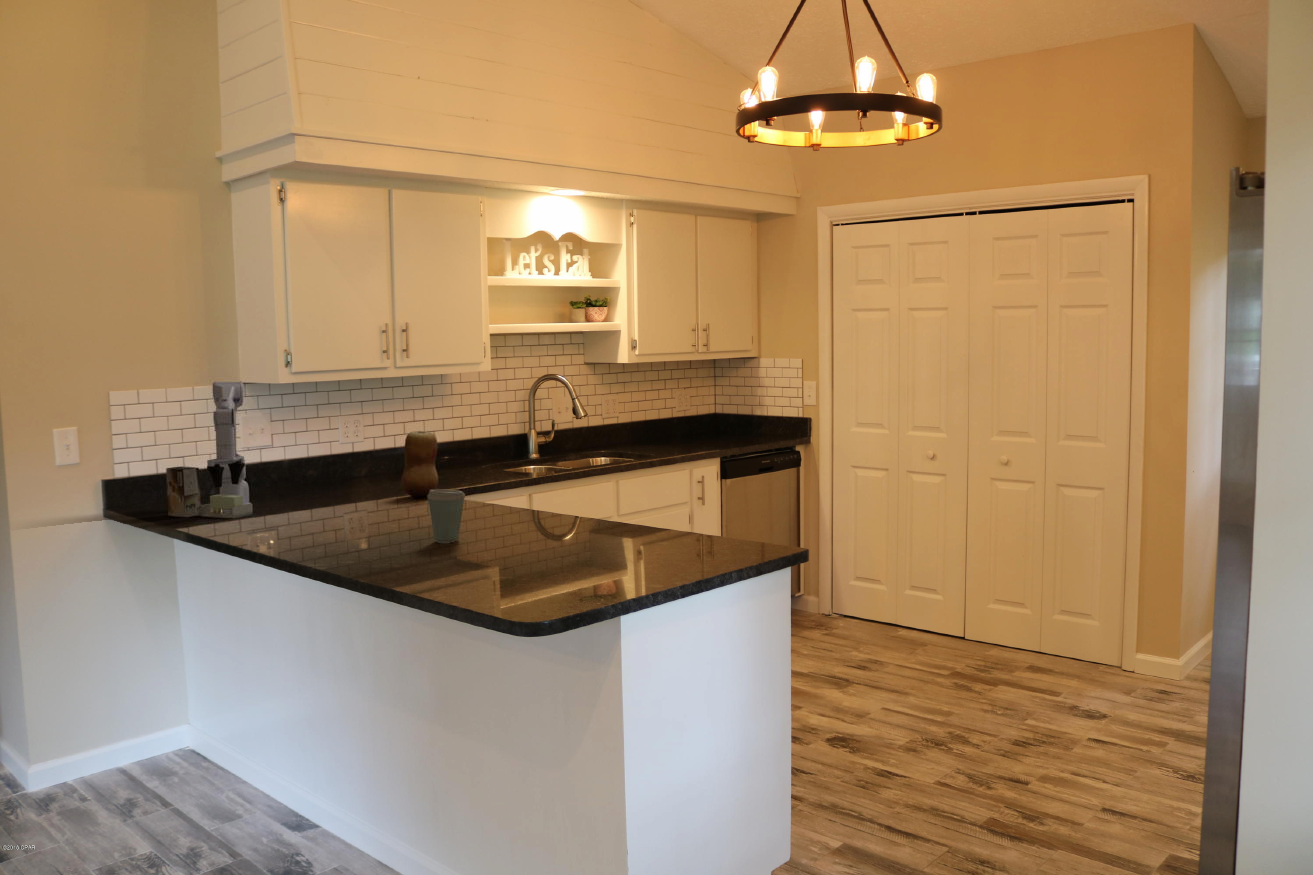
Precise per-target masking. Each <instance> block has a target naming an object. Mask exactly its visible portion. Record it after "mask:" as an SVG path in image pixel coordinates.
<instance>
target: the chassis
mask: <svg viewBox="0 0 1313 875" xmlns="http://www.w3.org/2000/svg"><path fill="white" fill-rule="evenodd" d="M251 515H253V503H251V504H246V505H241V506H236V507H231V508H230V509H219V508H210V503H206V504H201V505H200V506H199V515H198V517H206V518H208V517H209V518H222V519H237V518H241V517H247V516H251Z"/></svg>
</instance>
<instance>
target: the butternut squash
mask: <svg viewBox="0 0 1313 875" xmlns="http://www.w3.org/2000/svg"><path fill="white" fill-rule="evenodd" d="M403 450H404V451H403V452H404V453H403V454H404V470H403V472H402V475H401V479H400V483H401V487H402V488H403V490H404V492H405V493H407V494H408V495H409V496H410V497H411V498H412V497H413V498H412V499H417V498H418V499H419V498H426V497H428V494H429V491H430V490H436V489H437V487H438V484H439V475H438V472H437V469H436V459H437V454H438V453H437V452H438V440H437V436H436V434H435V433H433V432H430V431H423V430H412V431H410V432H409V433H407V434H406V437H405V439H404V449H403Z"/></svg>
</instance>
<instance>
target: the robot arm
mask: <svg viewBox="0 0 1313 875" xmlns="http://www.w3.org/2000/svg"><path fill="white" fill-rule="evenodd" d="M212 397H213V404H214V405H215V406H216V407H215V406H214V407H215V410H213V414H212V415H213V425H214V432H215V450H216V458H212V459H207V460H206V462H207V466H206V469H207V471H208V472H209V473H210V476H211V478H212V481H213V485H214V486H215V488H219V495H236V496H243V505H246V504H252V502H250V490H249V484H248V482H247V481H245V479H246V473H247V472H246V469H247V468H246V459H245V456H244V455H243V456H242V455H240V454H239V453H238V452H237V411H238V408H240V407H242V406H243V404H244V383H243V382H242V381H213V382H212Z"/></svg>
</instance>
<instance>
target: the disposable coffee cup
mask: <svg viewBox="0 0 1313 875" xmlns="http://www.w3.org/2000/svg"><path fill="white" fill-rule="evenodd" d="M465 498H466V494H465V493H464V491H462V490H457V489H435V490H430V491H429V494H428V496H427V499H428V507H429V511H430V519H431V526H432V531H433V532H432V534H433V538H434V542H435V543H437V542H438V544H451V543H450V542H454V543H456V542H455V541H457V542H458V539H459V536H460V530H461V523H462V516H463V511H464V510H463V508H464V503H465Z"/></svg>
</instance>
